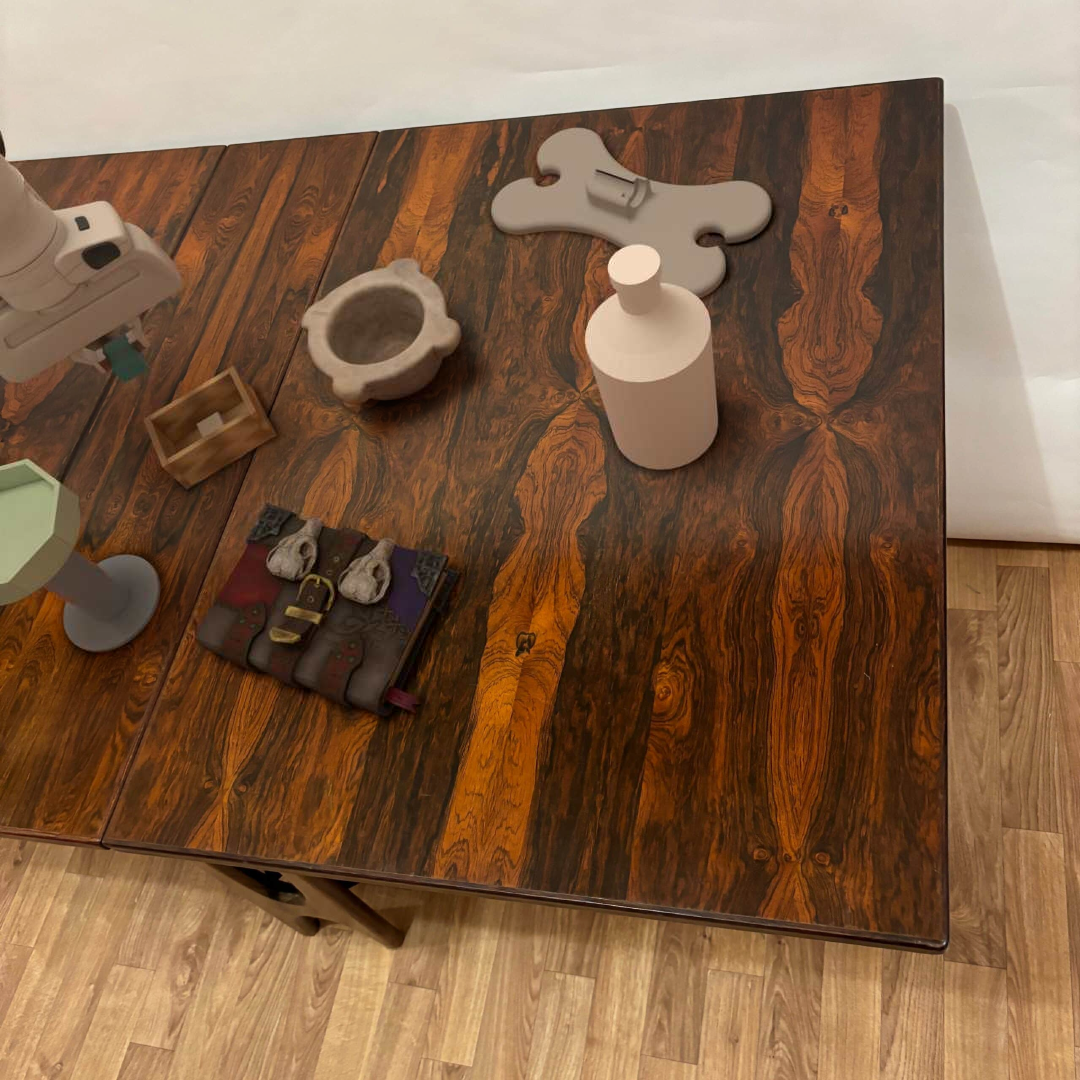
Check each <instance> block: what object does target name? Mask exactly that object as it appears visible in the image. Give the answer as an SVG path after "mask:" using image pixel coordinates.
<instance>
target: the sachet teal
mask: <svg viewBox="0 0 1080 1080" xmlns="http://www.w3.org/2000/svg"><path fill="white" fill-rule="evenodd" d="M127 332H128V331H126V332H124V333H122V334H120V335H118V336H117V337H115V338H114V339H112V340H111V341H109V342H107V343H106V344H104V345H103V350H104V351H105V352H106V354H107V356H108V359H109V362H110V364H111V367H112V369H111V370H112V372H113V373H114V374H115V375H116V376H117V377H118V378H119V379H120V380H121V381H122V382H123V383H124V384H126V383H128V382H130V381H131V380H133V379H135V378H136V377H139V376H140V375H142V374H143V373H145V372H147V371H149V370H150V367H149V365H148V364H149V363H148V362H147V359H146V357H145V355H144V352H143V350H142V351H141V352H137V351H136V349H135V348H133V347H132V346H131V345H130V344H129V342H128V338H127V337H126V333H127Z"/></svg>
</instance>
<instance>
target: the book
mask: <svg viewBox="0 0 1080 1080" xmlns="http://www.w3.org/2000/svg"><path fill="white" fill-rule="evenodd" d="M245 541H246V544H247V545H246V547H245V549H244V552H243V553H242V555H241V557H240V558H239V560H238V562H237V563H236V565H235V566H234V568H233V569H232V572H231V573H230V575H229V576H228V578H227V579H226V581H225V583H224V584H223V586H222V588H221V589H220V591H219V593H218V594H217V596H216V597H215V599H214V601H213V603H212V604H211V606H210V607H209V609H208V611H207V612H206V614H205V615H204V617H203V619H202V620H201V622H200V624H199V626H198V628H197V629H196V633H195V636H194V638H195V642H196V644H197V646H198V645H199V646H200V647H201V648H203V649H204V650H206V651H209V652H211V653H214V654H217V655H219V656H221V657H222V658H224V659H225V660H226V661H227V662H229V663H231V664H232V665H235V666H238V667H240V668H243V669H246V670H249V671H252V672H254V673H260V672H265V673H267V674H268V675H270V676H271V677H273V678H274V679H275V680H277V681H279V682H281V683H284V684H287V685H289V686H292V687H294V688H297V689H300V690H302V689H304V688H307V689H311V690H313V691H315V692H316V693H317V694H318V695H320V696H322V697H323V698H324V699H326V700H329V701H331V702H334V703H337V704H339V705H342V706H345V707H346V708H350V709H355V708H361V709H363V710H366V711H369V712H372V713H374V714H377V715H379V716H382V717H388V716H390V714H391V713H392V712H393V710H394V709H395V708H396V706H398V707H399V708H400V707H401V708H403V709H404V710H405V709H406V710H407V711H408V712H410V713H414V714H417V711H416V709H415V707H414V705H421V702H420V701H418V700H417V699H416V698H415V697H414V696H412V695H410V694H409V693H408V692H406V691H403V687H404V684H405V682H406V680H407V678H408V676H409V673H410V671H411V669H412V666H413V665H414V662H415V659H416V658H417V655H418V653H419V650H420V649H421V646H422V644H423V642H424V639H425V638H426V635H427V632H428V630H429V628H430V626H431V624H432V622H433V620H434V619H435V617H436V615H437V613H439V614H442V613H443V611H444V609H445V607H446V604H447V603H448V600H449V598H450V596H451V594H452V591H453V589H454V587H455V585H456V583H457V581H458V579H459V576H460V574H461V572H460V571H457V570H454V569H450V568H447V565H448V563H449V561H450V557H449V555H447V554H443V553H439V552H435V551H431V550H427V549H422V548H418V550H416V549H410V548H407V547H403V546H399V545H398V544H397V543H396V541H395V540H393V538H381V539H379V540H376V539H372V538H370V536H369V535H368V534H367V533H366V532H363V531H360V530H356V529H354V528H350V527H347V526H343V527H341V529H336V528H332V527H329V526H327V524H326V523H325V521H324V520H323V519H322V518H320V517H310V518H307V516H304V515H303V514H302V515H301V516H300V517H299V518H298V514H297V513H295V512H293V511H292V510H289V509H285V508H283V507H280V506H277V505H273V504H271V503H268V502H264V505H263V507H262V508H261V510H260V512H259V514H258V516H257V518H256V520H255V522H254V523H253V525H252V527H251V529H250V531H249V533H248V535H247V536H246V539H245Z"/></svg>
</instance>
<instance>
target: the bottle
mask: <svg viewBox="0 0 1080 1080" xmlns="http://www.w3.org/2000/svg"><path fill="white" fill-rule="evenodd" d="M607 272H608V276H609V281H610V284H611V286H612V287H613V289H614V290H616V291H615V292H616V293H614V294H613V295H611V296H609V297H608V298H607V299H606V300H604V301H603V302H602V303H601V304H600V305H599V306H598V307H597V308H596V310H595V311H594V312H593V314H592V315H591V317H590V318H589V320H588V323H587V326H586V329H585V333H584V334H585V336H584V344H585V350H586V353H587V356H588V359H589V362H590V366H591V369H592V372H593V376H594V378H595V382H596V384H597V385H596V386H597V388H598V391H599V394H600V397H601V400H602V404H603V407H604V410H605V413H606V416H607V419H608V423H609V426H610V429H611V432H612V435H613V439H614V442H615V443H616V446H617V448H618V449H619V451H620V452H621V454H622V455H623V456H624V457H625V458H627V459H628V461H630V462H632V463H633V464H636V465H638V466H640V467H644V468H646V469H650V470H651V469H652V470H671V469H675V468H680V467H682V466H685V465H688V464H690V463H691V462H693V461H695V460H697V459H698V458H699V457H701V456H702V455H703V454H704V453H705V452H707V450H708V449H709V448H710V446H711V445H712V444H713V442H714V440H715V437H716V436H717V431H718V427H719V415H718V414H719V413H718V403H717V402H718V401H717V400H718V399H717V389H716V376H715V364H714V363H715V362H714V352H713V351H714V350H713V349H714V348H713V338H712V337H713V335H712V325H711V317H710V315H709V311H708V309H707V307H706V306H705V304H704V302H703V301H702V300H701V298H700V299H699V298H698V297H697V296H696V295H695V294H693V293H692V292H690V291H689V290H687V289H684V288H682V287H680V286H677V285H672V284H668V283H660V278H661V275H662V268H661V262H660V257H659V255H658V253H657V252H656V251H655V250H654V249H653V248H651V247H649V246H646V245H630V246H627V247H624V248H620V249H619V250H617V251H616V252H615V253H613V255H612V256H611V257H610V259H609V261H608V264H607Z"/></svg>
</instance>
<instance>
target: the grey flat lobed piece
mask: <svg viewBox="0 0 1080 1080" xmlns="http://www.w3.org/2000/svg"><path fill="white" fill-rule="evenodd" d="M536 164H537V168H538V170H539V172H540V174H541V175H542V176H543V177H545V176H549V175H557V176H559V179H558V180H557V181H556V182H554V183H553V184H551V185H548V186H540V185H537V181H536V178H535V177H525V178H520V179H516V180H514V181H511V182H510V183H508V184H507V185H505V186H503V188H502V189H500V190H499V191H498V193H497V194H496V195H495V197H494V198H493V200H492V203H491V206H490V213H491V218H492V220H493V223H494V225H495V226H496V227H497V228H498V229H499V230H500V231H501V232H503V233H505V234H508V235H512V236H524V235H530V234H536V233H543V232H572V233H579V234H585V235H588V236H593V237H596V238H599V239H602V240H604V241H606V242H609V243H611V244H613V245H615V246H617V247H618V248H620V249H622V248H624V247H627V246H630V245H646V246H649V247H651V248H653V249H654V250H655V251H656V252H657V253H658V255H659V257H660V262H661V268H662V275H661V278H660V283H668V284H672V285H677V286H680V287H682V288H684V289H687V290H689V291H690V292H692V293H693V294H695V295H696V296H697V297H698V298H699V299H700V300H701V299H702V298H705V297H707V296H708V295H710V294H711V293H713V292H714V291H716V289H717V288H718V287H720V285H721V283H722V282H723V280H724V278H725V275H726V272H727V263H726V256H725V253H724V252H723V251H722V249H721V248H720V246H718V245H715V246H710V247H704V246H700V245H698V244H697V240H698V239H699V238H700V237H702V236H703V235H705V234H712V233H713V234H719V235H721V236H722V237H723V238H724V243H725V244H736V243H741V242H745V241H748V240H750V239H752V238H754V237H755V236H757V235H759V234H760V233H761V232H762V231H764V230H765V228H766V227H767V225H768V223H769V222H770V220H771V217H772V211H773V210H772V207H773V206H772V200H771V198H770V195H769V194H768V193H767V191H766V190H765V189H764V188H763V187H761V186H760V185H758V184H756V183H754V182H751V181H746V180H731V181H725V182H720V183H714V184H713V183H711V184H701V185H700V184H699V185H685V184H684V185H683V184H672V183H665V182H660V181H655V180H652V179H649V178H648V177H645V176H642V175H639V174H636V173H634V172H633V171H630V170H628V169H627V168H625V167H624V166H623V165H621V163H619V162H618V161H617V160H615V158H614V157H613V156H612V155H611V154H610V152H609V151H608V149H607V147H606V146H605V144H604V141H603V139H602V137H601V136H600V135H599V134H598V133H597V132H595V131H593V130H591V129H589V128H585V127H569V128H566V129H563V130H559V131H557V132H555V133H554V134H552V135H551V136H549V137H548V138H547V139H546V140H545V141H543V143H542V144H541V146H540V147H539V150H538V151H537V154H536Z"/></svg>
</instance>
